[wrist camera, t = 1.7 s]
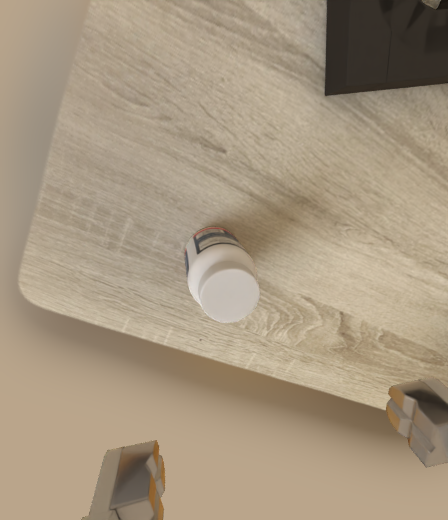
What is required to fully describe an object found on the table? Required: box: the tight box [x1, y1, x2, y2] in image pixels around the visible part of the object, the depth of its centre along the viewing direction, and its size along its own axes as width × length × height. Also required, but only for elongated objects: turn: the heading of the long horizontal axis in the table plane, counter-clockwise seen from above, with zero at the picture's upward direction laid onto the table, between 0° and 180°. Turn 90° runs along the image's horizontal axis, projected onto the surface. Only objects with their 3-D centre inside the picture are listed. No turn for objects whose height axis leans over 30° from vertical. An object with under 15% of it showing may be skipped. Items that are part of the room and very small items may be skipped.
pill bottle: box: [185, 227, 260, 323], centre depth 21 cm, size 5×5×9 cm
